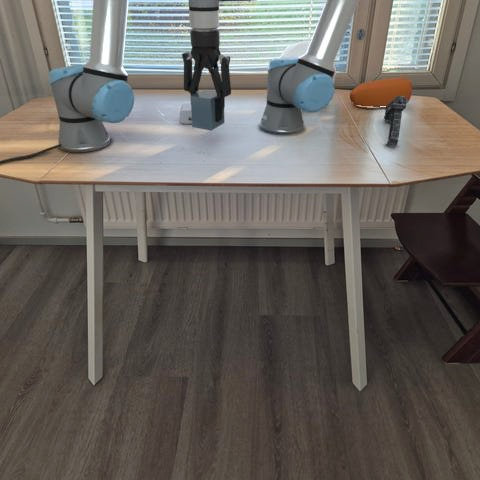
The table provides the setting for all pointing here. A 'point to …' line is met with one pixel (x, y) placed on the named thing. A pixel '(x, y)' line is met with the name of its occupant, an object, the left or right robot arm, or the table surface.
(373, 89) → the clog
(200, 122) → the block
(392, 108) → the futuristic handgun
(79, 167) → the table surface
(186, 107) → the charger
